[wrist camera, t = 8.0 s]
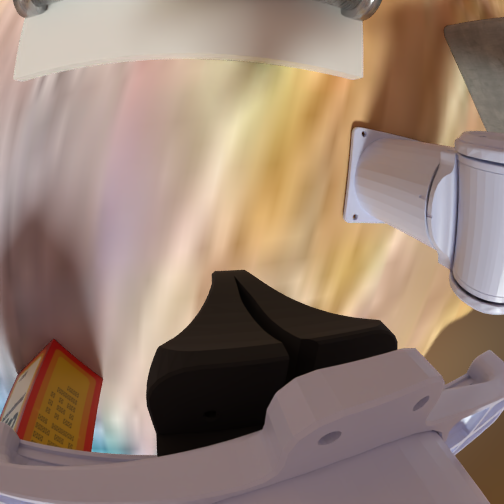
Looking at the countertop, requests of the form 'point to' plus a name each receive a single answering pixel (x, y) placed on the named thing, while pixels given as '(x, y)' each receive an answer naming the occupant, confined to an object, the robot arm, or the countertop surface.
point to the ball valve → (351, 3)
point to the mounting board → (190, 35)
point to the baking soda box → (54, 401)
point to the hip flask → (481, 66)
